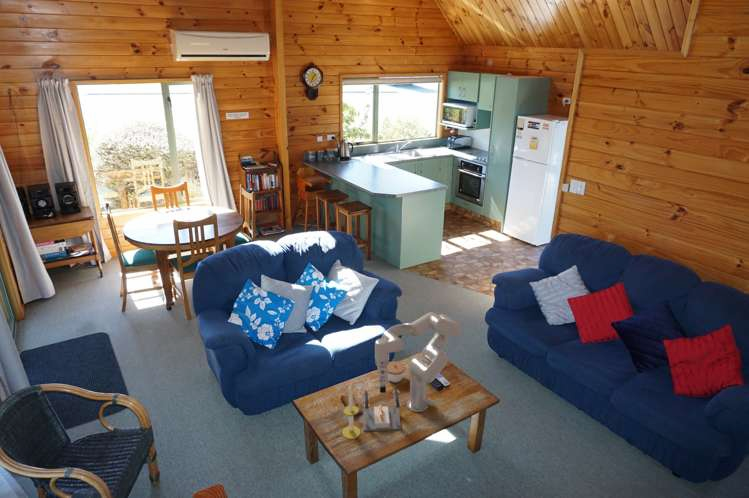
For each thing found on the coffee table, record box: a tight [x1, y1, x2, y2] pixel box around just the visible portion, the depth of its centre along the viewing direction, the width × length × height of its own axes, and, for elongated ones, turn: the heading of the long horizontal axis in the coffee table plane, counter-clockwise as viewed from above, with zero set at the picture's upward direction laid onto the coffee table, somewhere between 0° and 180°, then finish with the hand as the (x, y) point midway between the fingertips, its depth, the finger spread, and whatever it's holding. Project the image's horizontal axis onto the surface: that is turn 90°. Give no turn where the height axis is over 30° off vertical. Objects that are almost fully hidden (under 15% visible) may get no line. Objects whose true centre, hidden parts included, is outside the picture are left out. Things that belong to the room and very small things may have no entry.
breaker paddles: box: [378, 404, 383, 420], centre depth 287 cm, size 1×9×3 cm, turn 2°
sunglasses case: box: [340, 395, 364, 418], centre depth 300 cm, size 18×7×7 cm
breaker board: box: [362, 390, 402, 432], centre depth 286 cm, size 21×16×15 cm
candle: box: [342, 383, 361, 440], centre depth 274 cm, size 10×10×32 cm
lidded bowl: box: [387, 361, 406, 383], centre depth 323 cm, size 13×13×11 cm
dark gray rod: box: [394, 389, 401, 408], centre depth 284 cm, size 2×15×2 cm, turn 3°
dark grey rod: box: [364, 390, 369, 409], centre depth 283 cm, size 2×15×2 cm, turn 3°
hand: (382, 386), depth 281 cm, fingers open, 9 cm apart
